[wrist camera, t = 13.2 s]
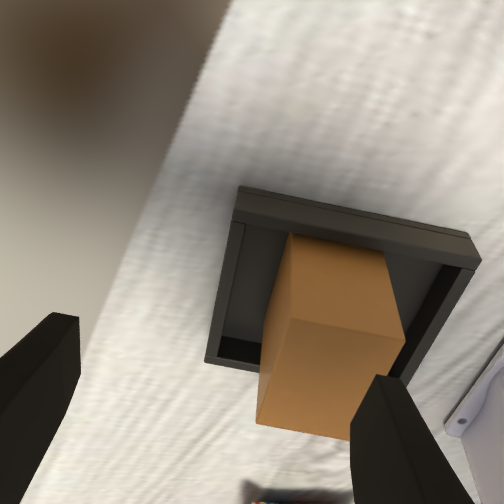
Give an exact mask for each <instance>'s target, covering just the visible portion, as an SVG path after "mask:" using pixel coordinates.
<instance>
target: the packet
mask: <svg viewBox="0 0 504 504" xmlns="http://www.w3.org/2000/svg"><path fill="white" fill-rule="evenodd" d="M404 343H405V336H404V332H403V328H402V324H401V320H400V317H399V313H398V309H397V305H396V301H395V297H394V293H393V289H392V285H391V281H390V277H389V273H388V269H387V265H386V261H385V257H384V253H383V251H378V250H373V249H368V248H363V247H358V246H353V245H348V244H344V243H339V242H334V241H329V240H324V239H319V238H314V237H309V236H304V235H300V234H295V233H290V232H289V234H288V238H287V241H286V245H285V248H284V252H283V255H282V259H281V262H280V266H279V269H278V273H277V276H276V280H275V283H274V287H273V290H272V294H271V297H270V301H269V304H268V308H267V312H266V315H265V319H264V325H263V337H262V349H261V361H260V373H259V385H258V397H257V409H256V424H260V425H265V426H271V427H276V428H282V429H287V430H292V431H298V432H303V433H309V434H314V435H320V436H325V437H330V438H336V439H341V440H347V441H350V423H351V421H352V419H353V417H354V415H355V413H356V411H357V409H358V407H359V406H360V404H361V402H362V400H363V398H364V396H365V394H366V392H367V390H368V388H369V386H370V385H371V383H372V381H373V379H374V377H375V375H376V374H379V375H384V376H387V374H388V373H389V371H390V369H391V367H392V365H393V363H394V362H395V360H396V358H397V356H398V354H399V352H400V351H401V349H402V347H403V345H404Z"/></svg>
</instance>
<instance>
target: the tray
mask: <svg viewBox="0 0 504 504" xmlns="http://www.w3.org/2000/svg"><path fill="white" fill-rule="evenodd" d="M289 232H290V233H295V234H300V235H304V236H309V237H314V238H319V239H324V240H329V241H334V242H339V243H344V244H348V245H353V246H358V247H363V248H368V249H373V250H378V251H383V253H384V257H385V261H386V265H387V269H388V273H389V277H390V281H391V285H392V289H393V293H394V297H395V301H396V305H397V309H398V313H399V317H400V320H401V324H402V328H403V332H404V336H405V343H404V345H403V347H402V349H401V351H400V352H399V354H398V356H397V358H396V360H395V362H394V363H393V365H392V367H391V369H390V371H389V373H388V374H387V376H389V377H395V378H400V379H401V380H402V382H403V384H404V385H405V387H407V385H408V384H409V382H410V380H411V379H412V377H413V375H414V374H415V372H416V370H417V369H418V367H419V365H420V364H421V362H422V360H423V359H424V357H425V355H426V354H427V352H428V350H429V349H430V347H431V345H432V344H433V342H434V340H435V338H436V337H437V335H438V333H439V332H440V330H441V328H442V327H443V325H444V323H445V322H446V320H447V318H448V317H449V315H450V313H451V312H452V310H453V308H454V307H455V305H456V303H457V302H458V300H459V298H460V297H461V295H462V293H463V292H464V290H465V288H466V287H467V285H468V283H469V282H470V280H471V278H472V277H473V275H474V273H475V270H477V268H478V266H479V264H480V263H481V261H482V258H481V257H480V255H479V253H478V251H477V249H476V247H475V245H474V243H473V242H472V240H471V238H470V236H469V234H468V233H465V232H460V231H455V230H450V229H445V228H441V227H436V226H431V225H426V224H421V223H417V222H412V221H407V220H402V219H397V218H393V217H388V216H383V215H378V214H373V213H369V212H364V211H359V210H354V209H349V208H345V207H340V206H335V205H330V204H325V203H321V202H316V201H311V200H306V199H301V198H296V197H292V196H287V195H282V194H277V193H272V192H268V191H263V190H258V189H253V188H248V187H244V186H239V187H238V192H237V196H236V201H235V206H234V210H233V215H232V221H231V226H230V231H229V236H228V241H227V246H226V251H225V256H224V261H223V266H222V272H221V277H220V282H219V287H218V292H217V297H216V302H215V307H214V312H213V318H212V323H211V328H210V333H209V338H208V343H207V348H206V353H205V358H204V362H205V363H209V364H214V365H219V366H225V367H230V368H235V369H241V370H246V371H251V372H256V373H260V361H261V349H262V337H263V325H264V319H265V315H266V312H267V308H268V304H269V301H270V297H271V294H272V290H273V287H274V283H275V280H276V276H277V273H278V269H279V266H280V262H281V259H282V255H283V252H284V248H285V245H286V241H287V238H288V234H289Z"/></svg>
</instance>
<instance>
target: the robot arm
mask: <svg viewBox="0 0 504 504" xmlns="http://www.w3.org/2000/svg"><path fill="white" fill-rule="evenodd" d="M79 331H80V329H79V317H77V316H72V315H66V314H61V313H56V312H52V313H51V314H49V315H48V316H47V317H46V318H44V319H43V320H42V321H41V322H40V323H39V324H38V325H37V326H36V327H35V328H34V329H32V330H31V331H30V332H29V333H28V334H27V335H26V336H25V337H24V338H23V339H21V340H20V341H19V342H18V343H17V344H16V345H15V346H13V347H12V348H11V349H10V350H9V351H8V352H7V353H5V354H4V355H3V356H2V357H1V358H0V504H19V503H20V501H21V499H22V498H23V496H24V494H25V492H26V490H27V488H28V486H29V484H30V482H31V480H32V478H33V476H34V474H35V472H36V471H37V469H38V467H39V465H40V463H41V461H42V459H43V457H44V455H45V453H46V451H47V449H48V447H49V446H50V444H51V442H52V440H53V438H54V436H55V434H56V432H57V430H58V428H59V426H60V424H61V422H62V420H63V418H64V416H65V414H66V412H67V409H68V406H69V404H70V401H71V399H72V396H73V394H74V391H75V388H76V385H77V383H78V380H79V377H80V375H81V360H80V332H79ZM444 428H445V431H446V433H447V434H448V435H451V436H455V437H461V440H462V443H463V446H464V449H465V453H466V456H467V459H468V462H469V466H470V469H471V472H472V475H473V478H474V482H475V485H476V488H477V491H478V494H479V498H480V501H481V504H504V344H503V345H502V347H501V348H500V349H499V351H498V352H497V353H496V355H495V356H494V358H493V359H492V360H491V362H490V363H489V365H488V366H487V367H486V369H485V370H484V371H483V373H482V374H481V376H480V377H479V378H478V380H477V381H476V382H475V384H474V385H473V387H472V388H471V389H470V391H469V392H468V393H467V395H466V396H465V398H464V399H463V400H462V402H461V403H460V405H459V406H458V407H457V409H456V410H455V411H454V413H453V414H452V416H451V417H450V418H449V420H448V421H447V422H446V424H445V426H444ZM350 468H351V477H352V485H353V494H354V502H355V504H475V503H474V502H473V500H472V499H471V497H470V496H469V494H468V493H467V491H466V490H465V488H464V486H463V485H462V483H461V482H460V480H459V479H458V477H457V475H456V474H455V472H454V471H453V469H452V467H451V466H450V464H449V462H448V461H447V459H446V457H445V456H444V454H443V452H442V451H441V449H440V447H439V446H438V444H437V442H436V441H435V439H434V437H433V435H432V434H431V432H430V430H429V428H428V427H427V425H426V423H425V421H424V420H423V418H422V416H421V414H420V412H419V411H418V409H417V407H416V405H415V403H414V402H413V400H412V398H411V396H410V394H409V392H408V391H407V389H406V387H405V385H404V384H403V382H402V380H401V379H400V378H395V377H389V376H384V375H379V374H376V375H375V377H374V379H373V381H372V383H371V385H370V386H369V388H368V390H367V392H366V394H365V396H364V398H363V400H362V402H361V404H360V406H359V407H358V409H357V411H356V413H355V415H354V417H353V419H352V421H351V423H350Z"/></svg>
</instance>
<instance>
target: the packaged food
mask: <svg viewBox="0 0 504 504" xmlns="http://www.w3.org/2000/svg"><path fill="white" fill-rule="evenodd" d="M251 504H279V503H268V502H252V503H251Z"/></svg>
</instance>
